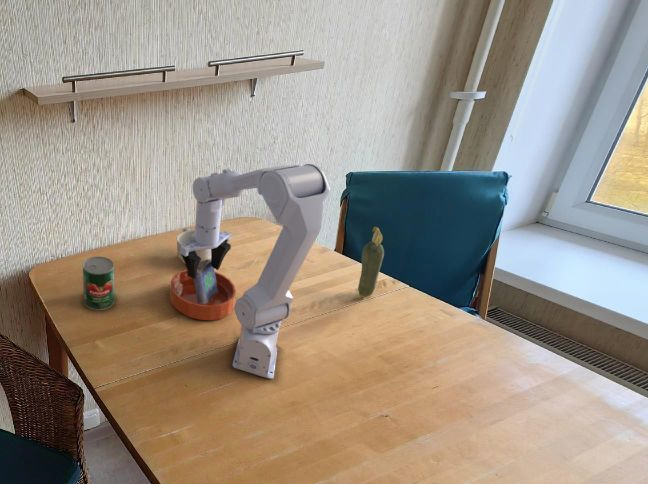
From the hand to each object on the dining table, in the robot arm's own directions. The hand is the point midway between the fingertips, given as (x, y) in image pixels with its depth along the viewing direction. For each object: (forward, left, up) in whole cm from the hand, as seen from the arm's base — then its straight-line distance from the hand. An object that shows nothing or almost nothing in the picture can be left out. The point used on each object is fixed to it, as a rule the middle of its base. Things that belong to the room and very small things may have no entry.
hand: (203, 272), depth 106 cm
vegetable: (+18, -37, -9) cm, 42 cm away
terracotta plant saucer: (0, 0, -9) cm, 9 cm away
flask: (0, -2, -8) cm, 8 cm away
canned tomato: (-11, +24, -9) cm, 28 cm away
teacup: (+19, +7, -9) cm, 22 cm away
